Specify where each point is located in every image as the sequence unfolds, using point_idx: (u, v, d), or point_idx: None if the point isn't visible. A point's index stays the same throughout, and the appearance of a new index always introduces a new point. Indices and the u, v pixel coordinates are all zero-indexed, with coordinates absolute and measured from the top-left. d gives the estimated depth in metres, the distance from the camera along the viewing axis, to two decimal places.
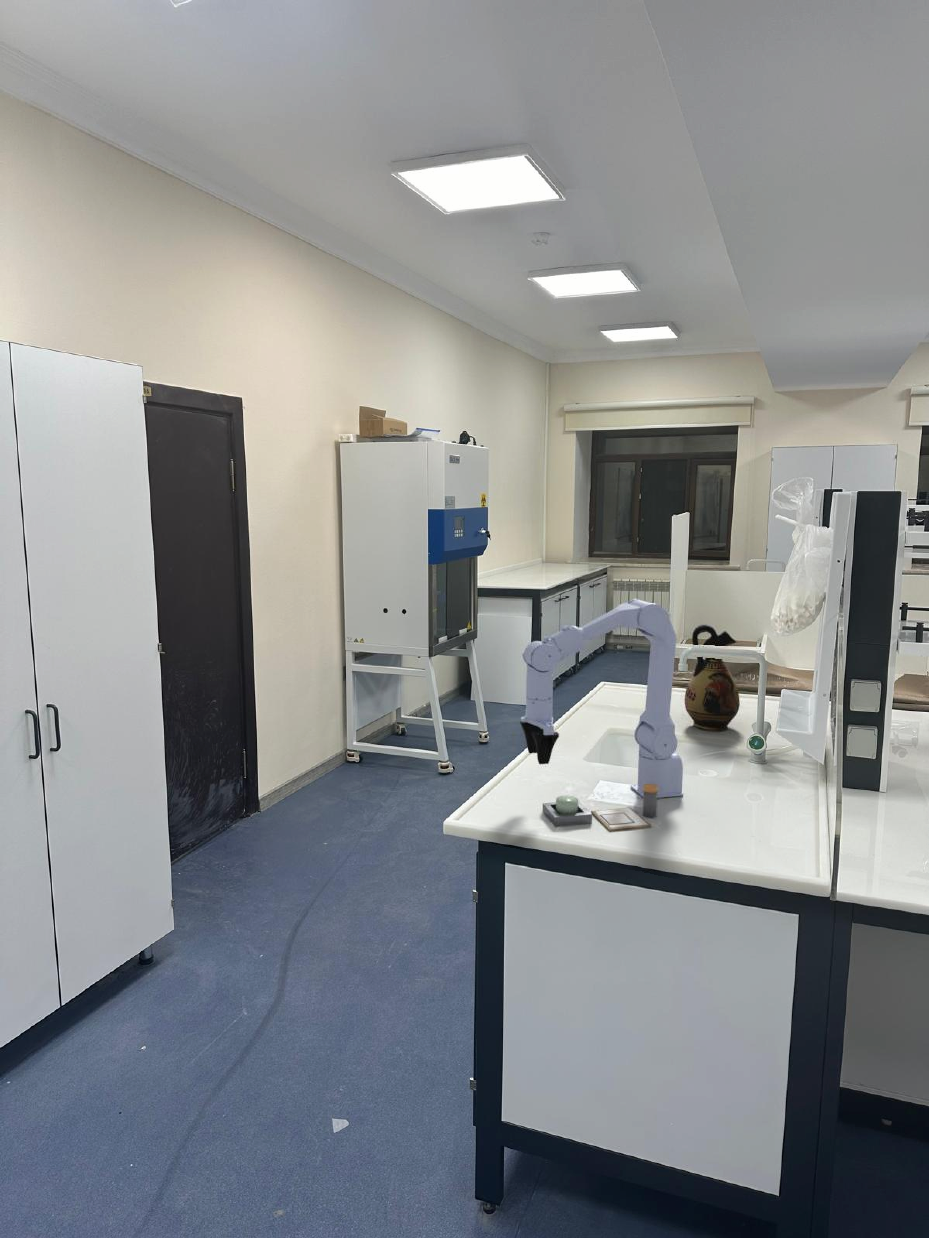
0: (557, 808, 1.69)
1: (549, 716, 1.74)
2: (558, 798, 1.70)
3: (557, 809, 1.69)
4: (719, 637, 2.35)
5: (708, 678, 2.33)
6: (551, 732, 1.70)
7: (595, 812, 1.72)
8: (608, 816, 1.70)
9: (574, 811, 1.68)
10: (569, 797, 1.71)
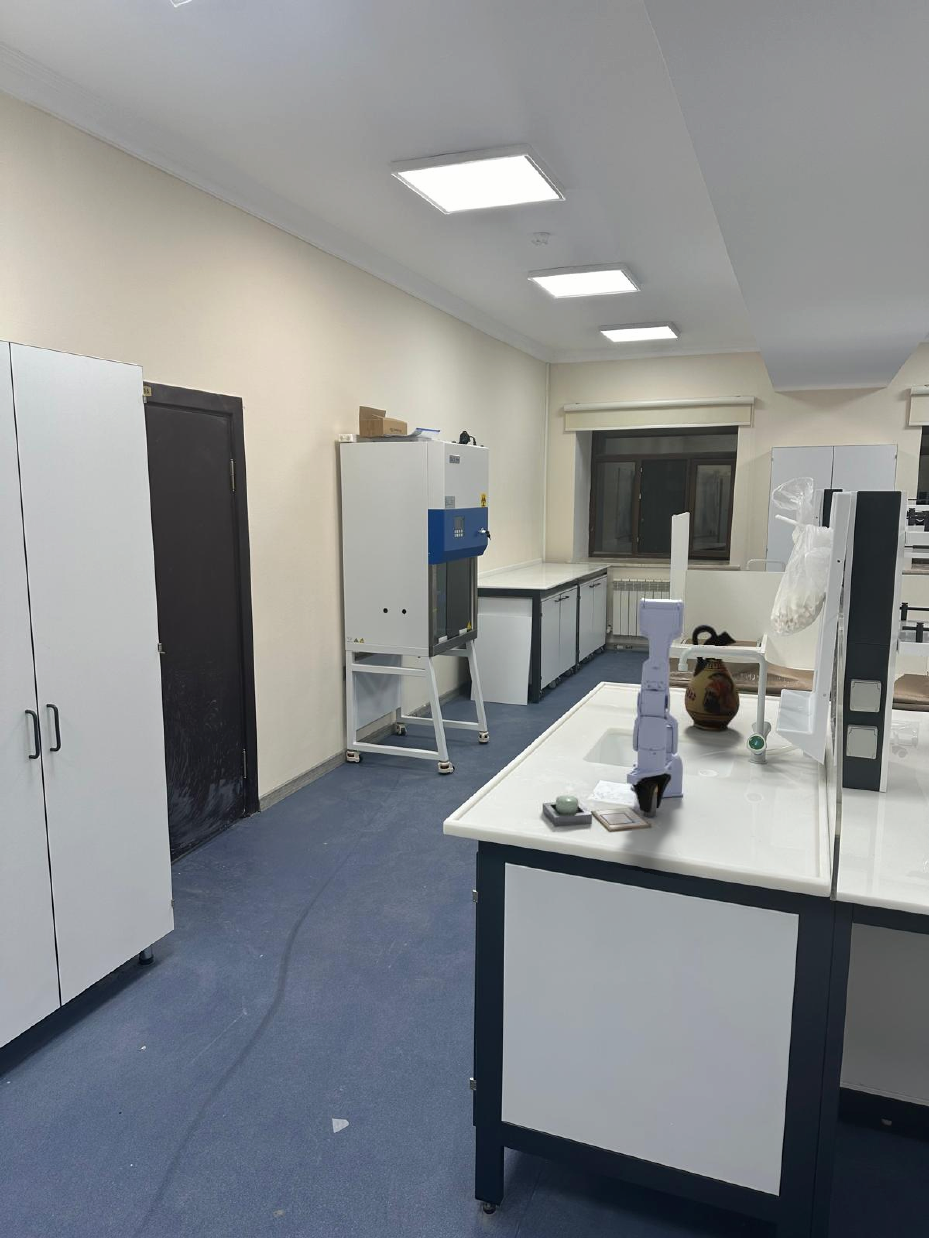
0: (557, 808, 1.69)
1: (651, 767, 1.67)
2: (558, 798, 1.70)
3: (557, 809, 1.69)
4: (719, 637, 2.35)
5: (708, 678, 2.33)
6: (632, 782, 1.65)
7: (595, 812, 1.72)
8: (608, 816, 1.70)
9: (574, 811, 1.68)
10: (569, 797, 1.71)
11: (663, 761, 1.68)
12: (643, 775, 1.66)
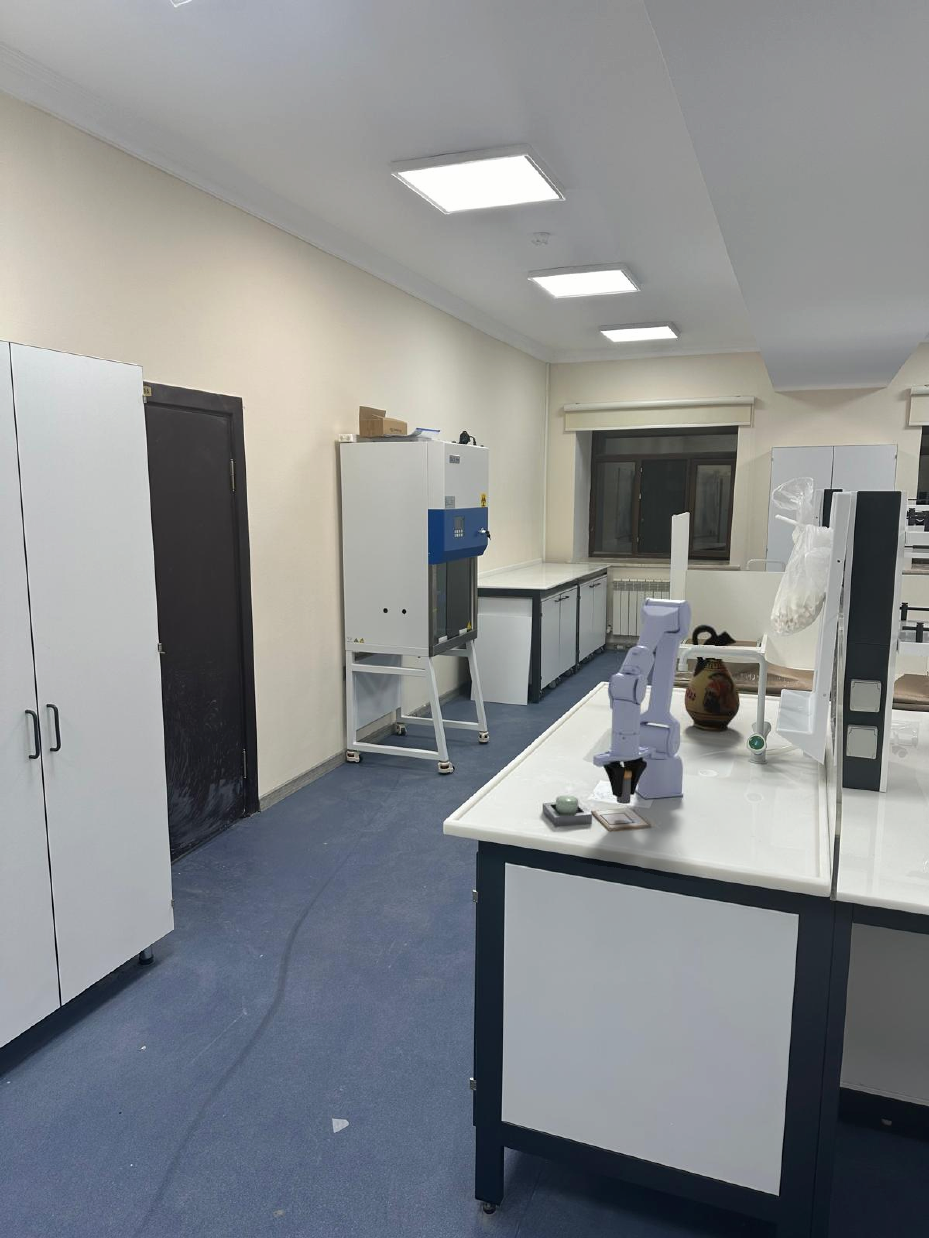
0: (557, 808, 1.69)
1: (620, 752, 1.66)
2: (558, 798, 1.70)
3: (557, 809, 1.69)
4: (719, 637, 2.35)
5: (708, 678, 2.33)
6: (597, 764, 1.65)
7: (595, 812, 1.72)
8: (608, 816, 1.70)
9: (574, 811, 1.68)
10: (569, 797, 1.71)
11: (634, 747, 1.66)
12: (609, 758, 1.65)
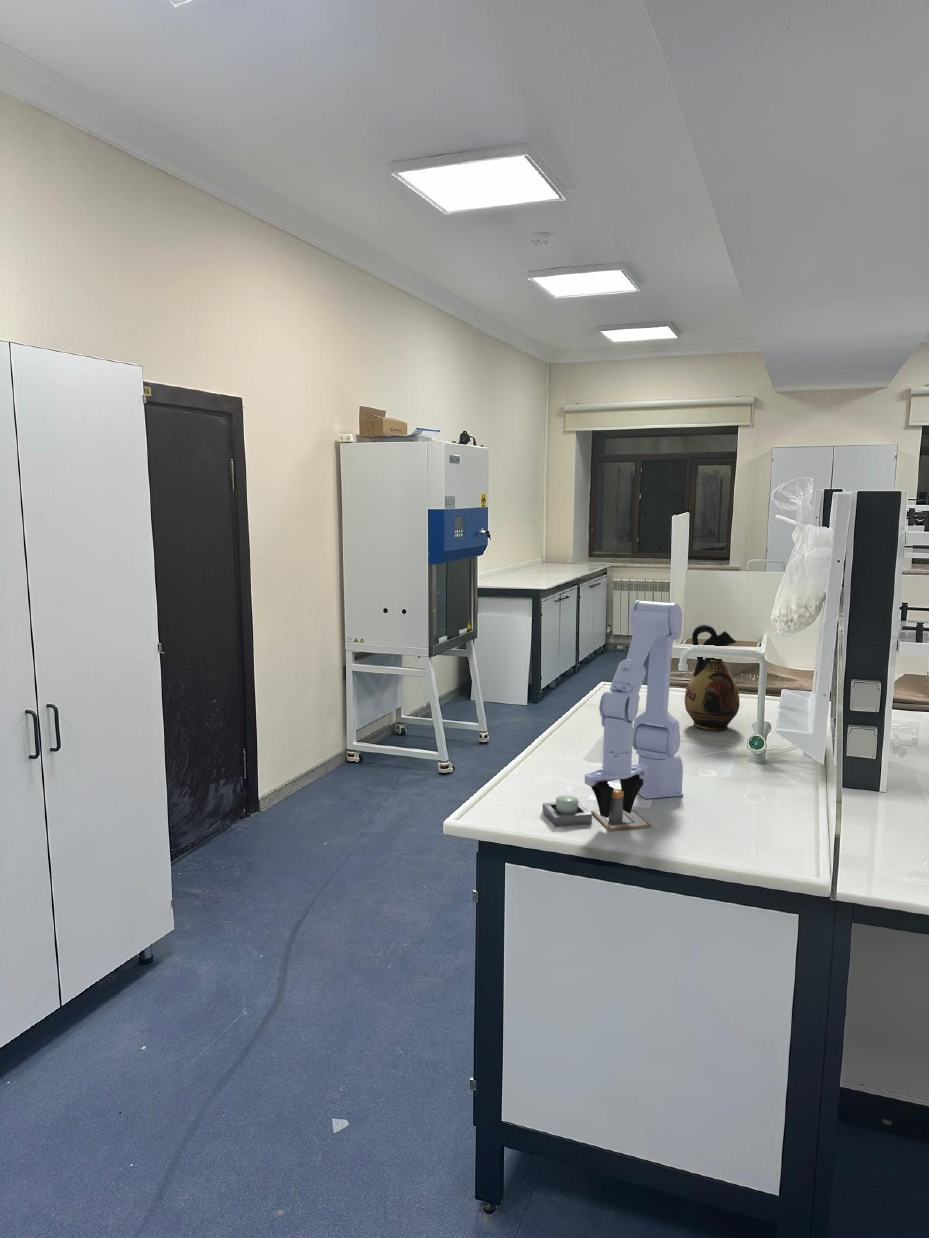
0: (557, 808, 1.69)
1: (612, 771, 1.63)
2: (558, 798, 1.70)
3: (557, 809, 1.69)
4: (719, 637, 2.35)
5: (708, 678, 2.33)
6: (589, 783, 1.62)
7: (595, 812, 1.72)
8: None
9: (574, 811, 1.68)
10: (569, 797, 1.71)
11: (626, 765, 1.62)
12: (601, 777, 1.62)
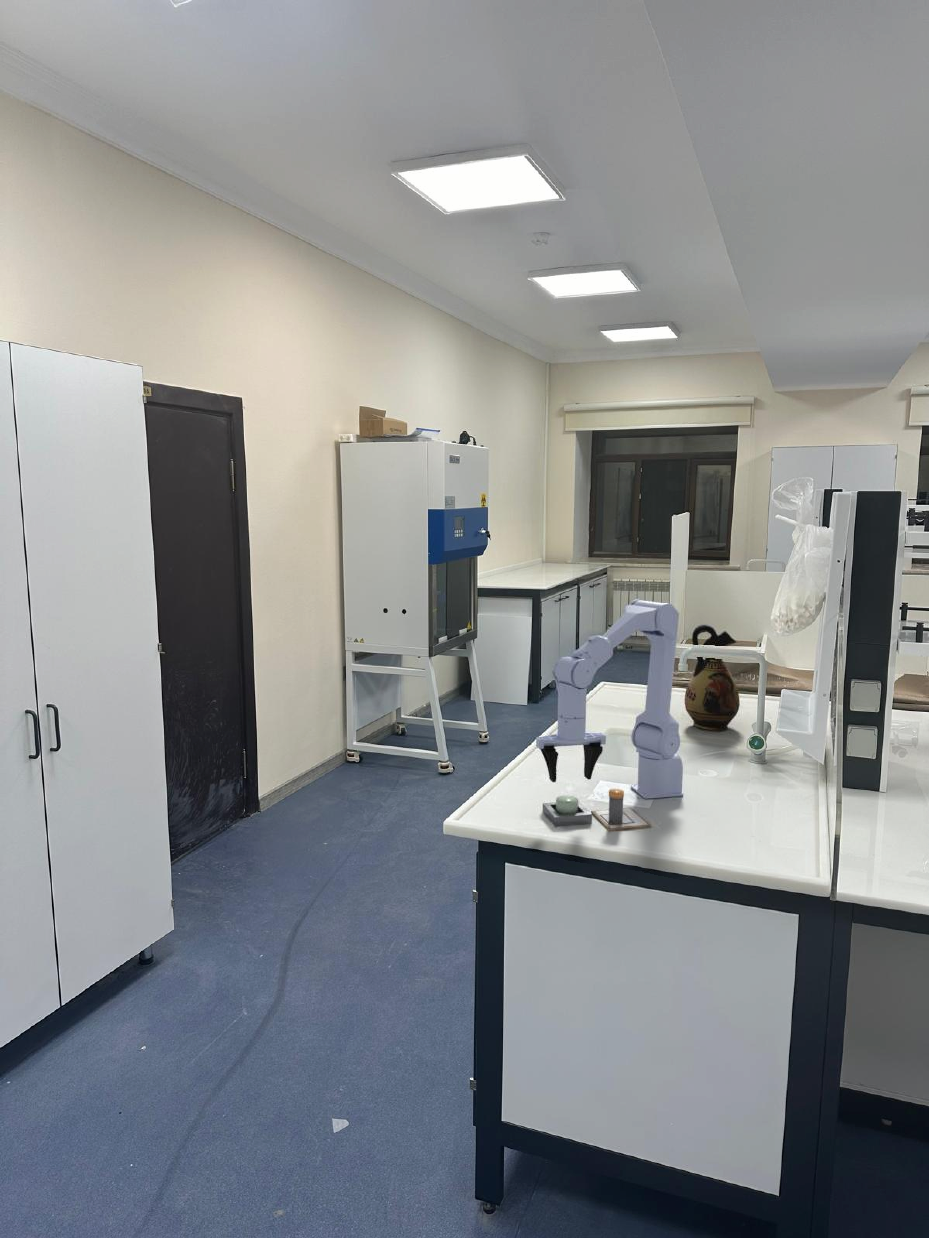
0: (557, 808, 1.69)
1: (563, 735, 1.65)
2: (558, 798, 1.70)
3: (557, 809, 1.69)
4: (719, 637, 2.35)
5: (708, 678, 2.33)
6: (538, 746, 1.65)
7: (595, 812, 1.72)
8: (608, 816, 1.70)
9: (574, 811, 1.68)
10: (569, 797, 1.71)
11: (576, 731, 1.64)
12: (550, 741, 1.65)
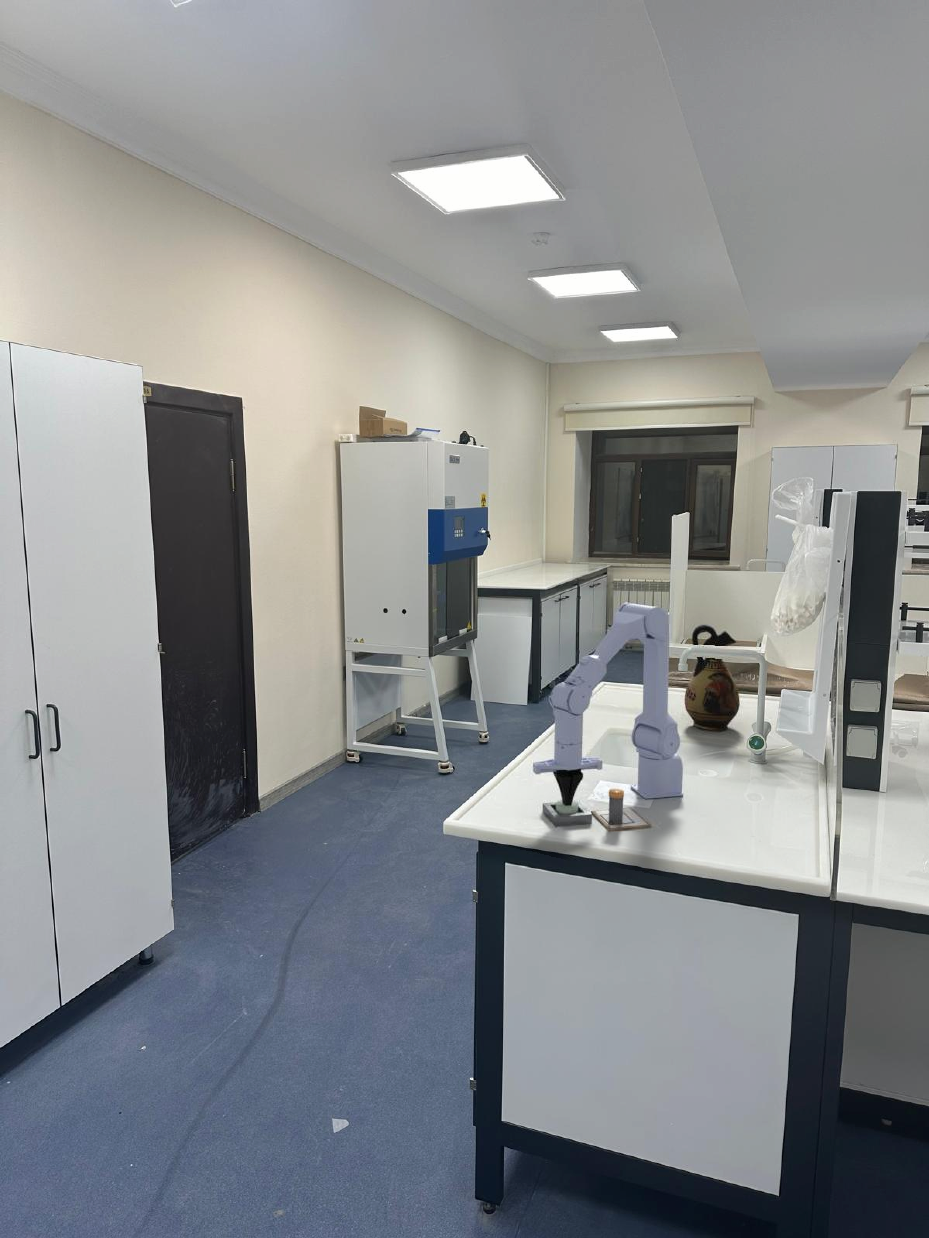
0: (557, 812, 1.69)
1: (560, 761, 1.66)
2: (558, 802, 1.70)
3: None
4: (719, 637, 2.35)
5: (708, 678, 2.33)
6: (535, 771, 1.67)
7: (595, 812, 1.72)
8: (608, 816, 1.70)
9: None
10: None
11: (573, 757, 1.65)
12: (547, 766, 1.66)
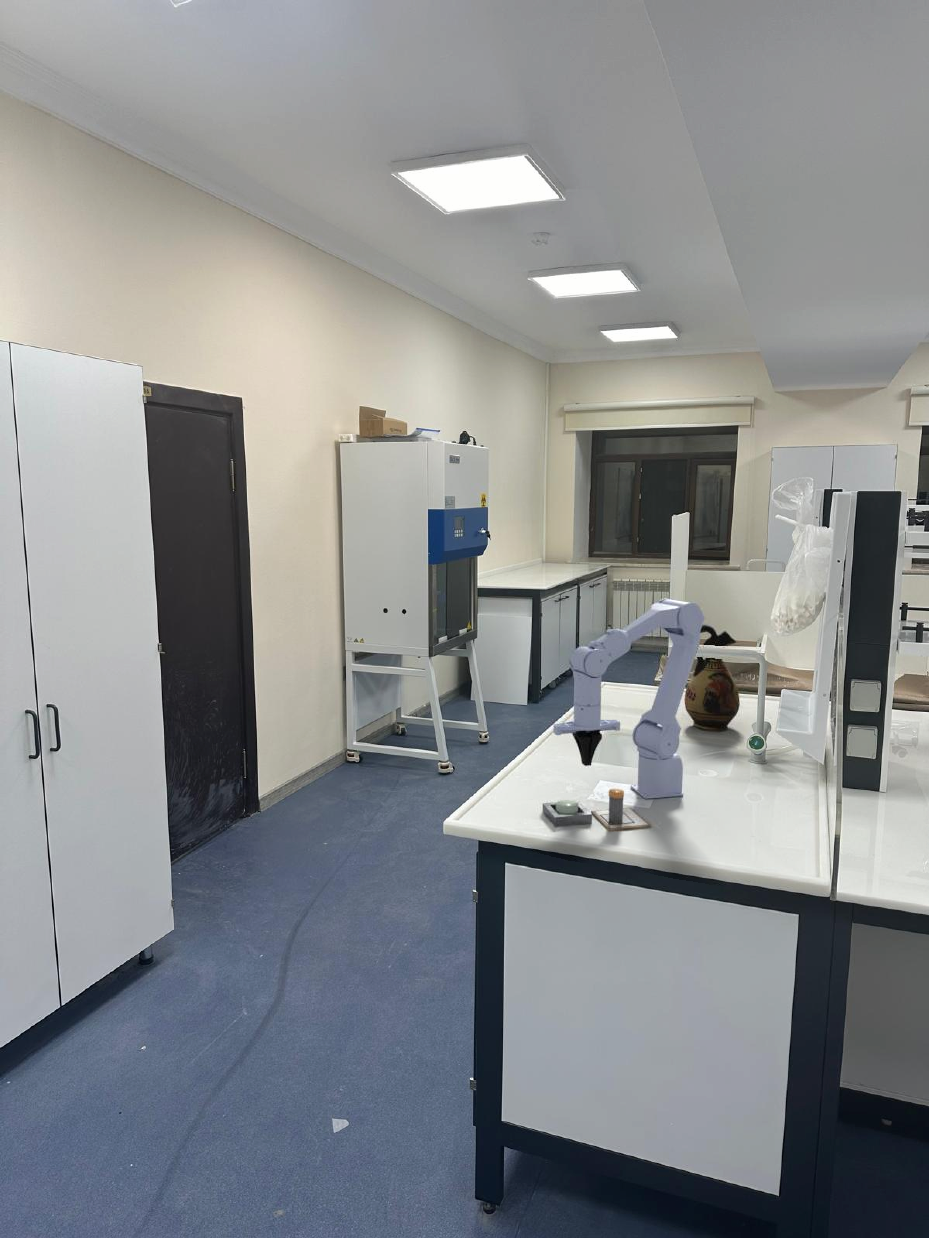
0: None
1: (579, 722, 1.72)
2: (558, 803, 1.70)
3: None
4: (719, 637, 2.35)
5: (708, 678, 2.33)
6: (555, 732, 1.73)
7: (595, 812, 1.72)
8: (608, 816, 1.70)
9: None
10: (569, 802, 1.71)
11: (592, 718, 1.72)
12: (567, 728, 1.72)
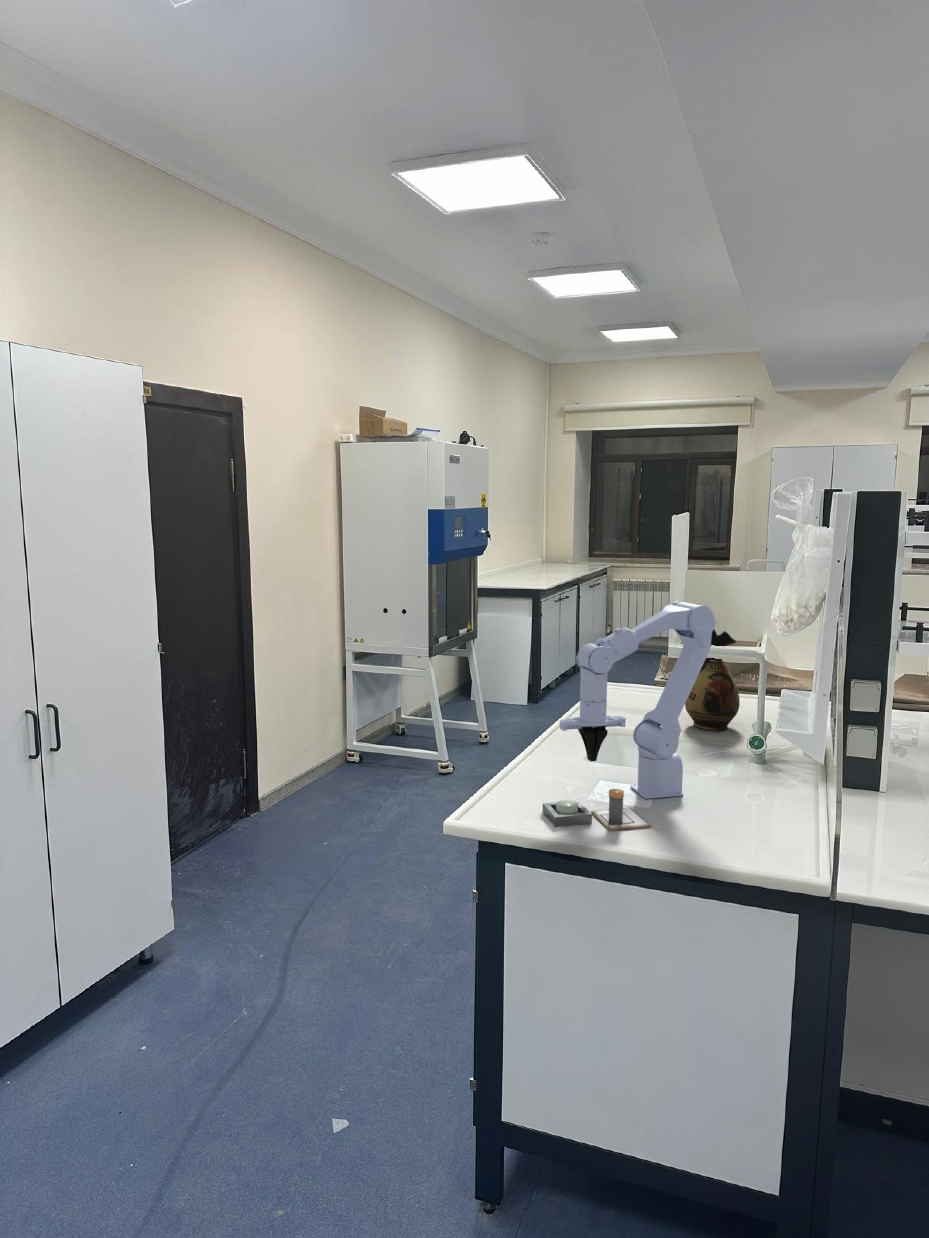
0: None
1: (585, 718, 1.75)
2: (558, 803, 1.70)
3: None
4: (719, 637, 2.35)
5: (708, 678, 2.33)
6: (562, 728, 1.75)
7: (595, 812, 1.72)
8: (608, 816, 1.70)
9: None
10: (569, 802, 1.71)
11: (598, 714, 1.74)
12: (573, 723, 1.75)
